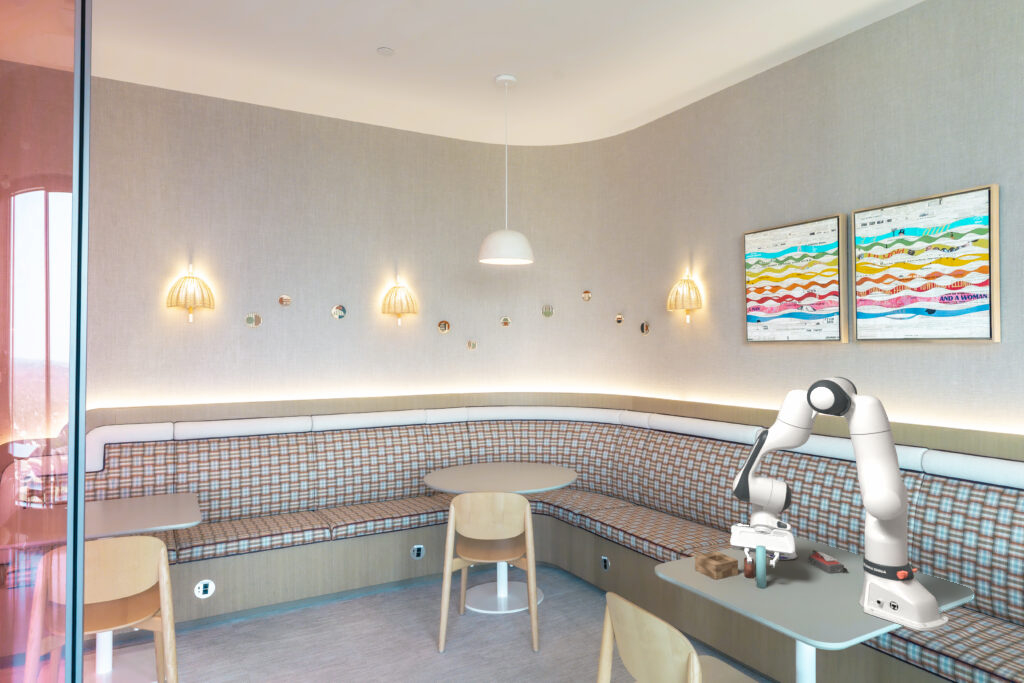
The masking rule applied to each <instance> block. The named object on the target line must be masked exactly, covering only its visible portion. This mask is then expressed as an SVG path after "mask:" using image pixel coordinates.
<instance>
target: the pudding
mask: <svg viewBox="0 0 1024 683" xmlns="http://www.w3.org/2000/svg"><path fill="white" fill-rule="evenodd" d="M766 557H769V558H772V559H774V558H775V556H774V555H768V554H766ZM796 558H798V554H797V553H796V556H795V557H794V558H789V557H782V556H779V560H783V561H784V560H785V561H787V560H793V559H794V560H795V559H796Z"/></svg>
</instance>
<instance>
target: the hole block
mask: <svg viewBox="0 0 1024 683" xmlns="http://www.w3.org/2000/svg"><path fill="white" fill-rule="evenodd" d="M694 570H695V571H696V572H698V573H701V574H702V575H705V576H706V577H708V578H711V579H712V580H715V581H718V580H721V579H726V578H730V577H734V576H739V560H738V559H737V558H735V557H731V556H729V555H726V554H724V553H722V552H719V551H711V552H707V553H702V554H698V555H694Z"/></svg>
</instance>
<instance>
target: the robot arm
mask: <svg viewBox="0 0 1024 683" xmlns="http://www.w3.org/2000/svg"><path fill="white" fill-rule="evenodd" d="M819 414H822V415H827V416H834V417H835V416H836V417H844V419H845V420H846V423H847V426H848V431H849V436H850V440H851V444H852V447H853V448H852V449H853V452H854V457H855V458H854V459H855V463H856V470H857V477H858V484H859V490H860V495H861V496H860V497H861V501H862V505H863V507H864V509H865V512H864V513H865V515H864V555H863V557H862V558H863V559H862V560H863V561H862V562H863V563H862V568H863V573H864V574H863V575H864V576H863V585H862V590H861V595H860V597H859V600H858V602H859V605H860V606H861V607H862V608H863V612H864V613H865V614H867V615H871V616H874V617H877V618H880V619H882V620H883V619H884V620H886V621H889V622H891V623H895V624H898V625H901V626H904V627H907V628H910V629H913V630H915V631H916V630H917V631H922V632H923V631H925V632H927V631H929V632H930V631H933V630H934V631H937V630H938V629H942V628H944V627H946V626H947V625H949V622H950V621H949V617H948V616H946V615H944V614H943V613H941V612H940V609H939V604H938V601H937V599H936V597H935V596H934V595H933V594H932V593H931V592H930V591H929V590H928V589H927V588H925V586H924V585H922V584H921V583H920V582H919V580H918V579H917V578H916V577H915V573H918V571H917V570H918V568H912V567H911V565H910V563H909V560H908V559H909V558H908V557H909V556H908V555H909V554H908V553H909V552H908V546H909V545H908V543H909V542H908V532H909V531H908V528H909V527H908V526H909V525H908V522H909V520H908V519H909V516H908V513H909V512H908V511H909V510H908V508H909V507H908V506H909V505H908V504H909V503H908V502H909V499H908V498H909V496H908V495H909V492H908V491H909V490H908V488H907V485H906V483H904V481H903V480H902V475H901V470H900V465H899V464H900V463H899V458H898V453H897V447H896V444H895V440H894V436H893V431H892V426H891V423H890V420H889V416H888V414H887V412H886V410H885V406H884V405H883V403H882V401H881V400H880V399H879V398H878V397H876V396H874V395H869V394H858V390H857V387H856V385H855V384H854V383H853V382H852V381H851V380H850V379H849V378H846V377H842V376H833V377H832V376H831V377H830V376H828V377H825V378H822V379H819V380H816V381H815V382H814V383H812V384H811V385H810V386H809V388H808V390H807V389H802V388H801V389H799V388H797V389H796V388H795V389H792V390H790V391H789V392H787V394H786V395H785V397H784V399H783V401H782V404H781V405H780V408H779V410H778V414H777V416H776V419H775V421H774V423H773V424H772V425H771V426H770V427H769V428H768V429H764V430H762V431H761V432H760V433H759V435H758V436H757V438H756V440H755V441H754V444H753V445H752V446H751V449H750V451H749V452H748V455H747V456H746V459H745V461H744V462H743V465H742V466H741V469H740V470H739V471H738V473H737V475H736V476H735V478H734V479H733V482H732V489H731V490H732V493H733V495H734V496H735V497H736V499H737V500H738V501H740V502H744V503H750V504H751V507H752V512H751V514H750V520H749V521H750V522H749V524H747V523H740V522H738V523H737V522H736V523H735V524H733V525H731V527H730V533H731V534H730V535H731V536H730V539H729V544H730V547H731V549H732V550H733V551H740V552H744V554H745V558H747V564H752V561H753V559H754V558H753V556H750V553H755V554H756V546H764V547H766V554H768V555H769V556H770V555H774V556H775V557H774V558H772V559H770V560H769V567H770V568H774V569H775V568H776V563H777V562H778V561H779V560H780V559H779V556H782V557H789V558H794V557H795V556H796V554H797V553H796V543H795V542H796V541H795V537H794V534H793V529H792V525H791V524H789V523H786V522H785V521H782V520H780V519H779V513H783V512H784V511H786V510H787V509H789V508H790V506H791V502H792V489H791V487H790V485H788V484H787V482H784V481H782V480H780V479H779V480H778V479H775V478H772V477H771V478H770V477H767V476H763V475H758V474H756V471H757V470H758V468H759V466H760V464H761V463H762V461H763V458H764V457H765V455H767V454H768V453H770V452H776V451H783V450H794V449H798V448H800V447H802V446H804V445H805V444H806V443H807V442H808V441H809V439H810V437H811V435H812V432H813V428H814V425H815V421H816V419H817V417H818V415H819ZM789 558H788V559H789ZM794 559H795V558H794Z"/></svg>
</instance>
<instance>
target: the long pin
mask: <svg viewBox="0 0 1024 683" xmlns="http://www.w3.org/2000/svg"><path fill="white" fill-rule="evenodd" d="M755 562H756V563H755V566H756V567H755V574H756V576H755V577H756V581H755V583H756V584H755V585H756V587H757V588H758V589H761V590H762V589H767V556H766V547H764V546H756V553H755Z"/></svg>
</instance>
